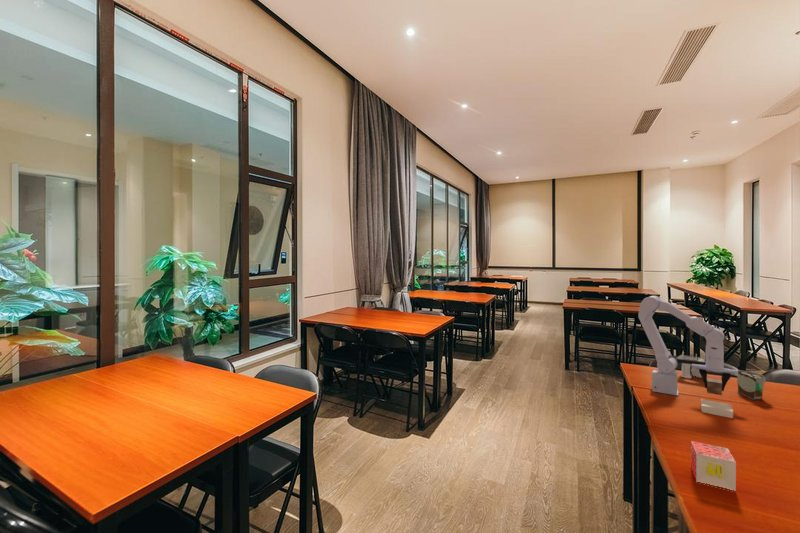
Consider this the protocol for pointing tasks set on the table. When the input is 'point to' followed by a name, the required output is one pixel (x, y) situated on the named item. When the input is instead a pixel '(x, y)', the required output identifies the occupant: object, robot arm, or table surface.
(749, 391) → the food container
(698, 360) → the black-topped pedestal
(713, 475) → the pink and white box
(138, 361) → the table surface
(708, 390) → the grayish beige block
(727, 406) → the base block
